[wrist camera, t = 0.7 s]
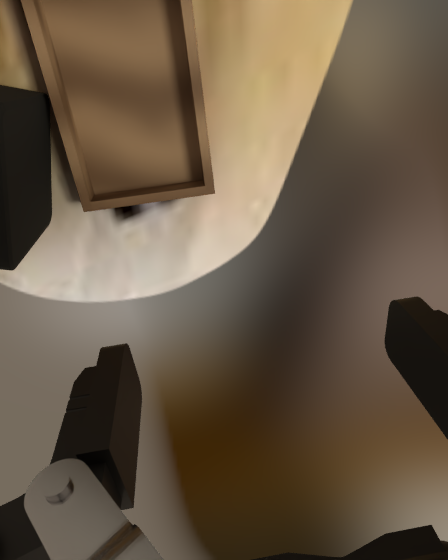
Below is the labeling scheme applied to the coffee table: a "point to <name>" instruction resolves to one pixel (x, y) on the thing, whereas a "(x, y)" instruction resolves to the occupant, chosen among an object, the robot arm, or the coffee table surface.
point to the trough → (125, 97)
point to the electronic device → (23, 172)
